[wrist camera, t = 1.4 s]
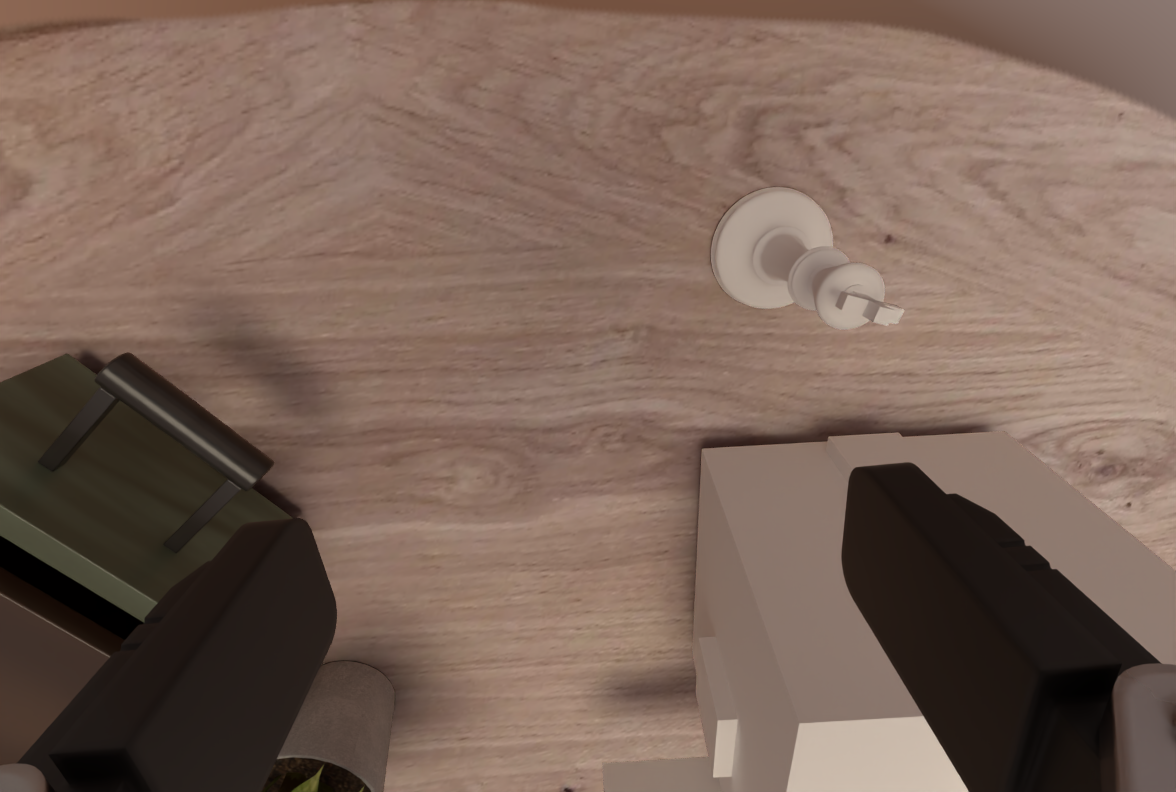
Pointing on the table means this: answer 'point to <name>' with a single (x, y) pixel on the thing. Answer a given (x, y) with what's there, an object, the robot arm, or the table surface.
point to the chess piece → (794, 261)
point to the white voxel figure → (856, 612)
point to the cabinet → (42, 661)
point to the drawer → (117, 486)
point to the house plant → (338, 734)
